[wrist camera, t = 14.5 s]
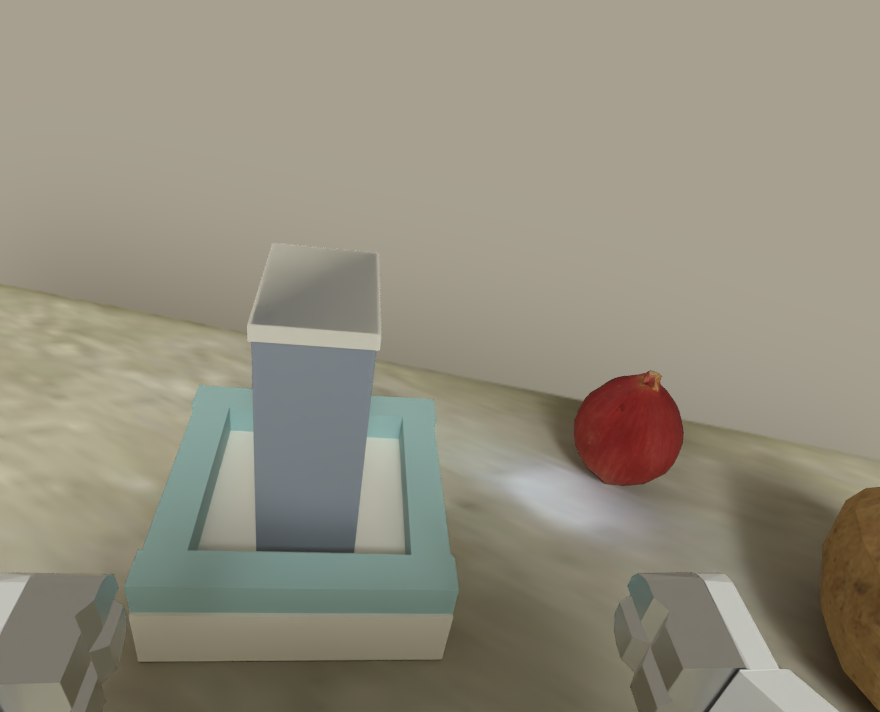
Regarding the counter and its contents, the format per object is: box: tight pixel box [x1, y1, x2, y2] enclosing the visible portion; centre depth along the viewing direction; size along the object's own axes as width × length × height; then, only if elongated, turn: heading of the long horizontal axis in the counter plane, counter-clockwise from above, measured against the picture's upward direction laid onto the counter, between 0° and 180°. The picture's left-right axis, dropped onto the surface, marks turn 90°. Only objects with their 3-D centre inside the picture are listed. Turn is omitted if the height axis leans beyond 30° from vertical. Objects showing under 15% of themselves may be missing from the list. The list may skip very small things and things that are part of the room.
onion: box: [574, 370, 684, 486], centre depth 35 cm, size 6×6×8 cm
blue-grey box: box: [247, 243, 381, 553], centre depth 25 cm, size 4×6×11 cm
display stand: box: [124, 385, 459, 662], centre depth 29 cm, size 12×12×4 cm
